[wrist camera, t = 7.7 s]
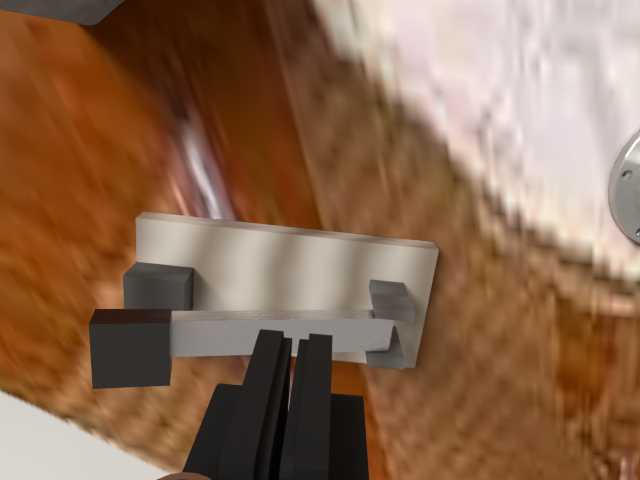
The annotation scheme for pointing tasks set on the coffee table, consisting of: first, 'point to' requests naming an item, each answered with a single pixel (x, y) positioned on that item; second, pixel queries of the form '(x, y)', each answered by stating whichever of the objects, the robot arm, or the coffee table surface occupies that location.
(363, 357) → the base
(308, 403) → the robot arm
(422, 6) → the coffee table surface
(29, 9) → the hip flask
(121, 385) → the lever
